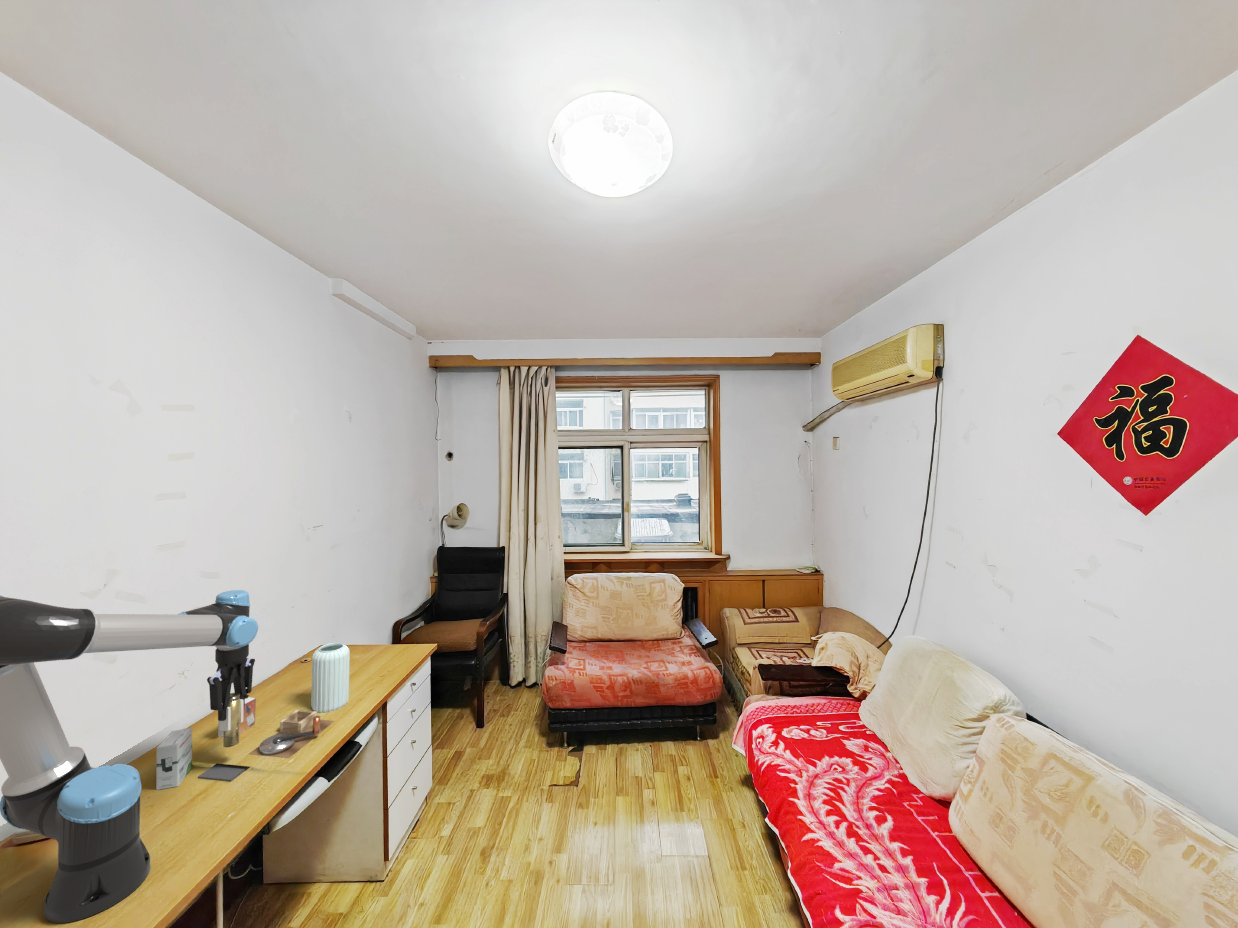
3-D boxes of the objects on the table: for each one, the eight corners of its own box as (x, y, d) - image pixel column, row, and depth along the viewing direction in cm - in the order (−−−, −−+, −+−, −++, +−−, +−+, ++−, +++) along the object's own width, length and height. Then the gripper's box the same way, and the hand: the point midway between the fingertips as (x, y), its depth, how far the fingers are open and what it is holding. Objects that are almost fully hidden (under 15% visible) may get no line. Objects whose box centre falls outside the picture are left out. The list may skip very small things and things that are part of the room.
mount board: (289, 762, 143) (289, 757, 143) (248, 758, 144) (248, 753, 144) (334, 725, 163) (334, 720, 163) (298, 721, 164) (298, 717, 164)
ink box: (171, 770, 138) (172, 729, 138) (192, 767, 140) (193, 726, 139) (154, 790, 130) (155, 747, 130) (177, 787, 132) (178, 743, 131)
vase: (347, 697, 181) (348, 638, 181) (349, 711, 171) (351, 649, 171) (311, 705, 175) (312, 644, 174) (311, 720, 165) (312, 656, 165)
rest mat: (230, 781, 134) (230, 779, 134) (197, 778, 135) (197, 776, 135) (260, 758, 144) (260, 757, 144) (229, 755, 145) (229, 754, 145)
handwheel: (319, 743, 150) (319, 723, 150) (257, 757, 142) (257, 736, 142) (320, 728, 157) (320, 709, 157) (261, 741, 150) (261, 721, 150)
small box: (231, 743, 151) (232, 710, 151) (217, 740, 152) (217, 707, 152) (255, 729, 159) (256, 697, 159) (241, 726, 160) (242, 695, 160)
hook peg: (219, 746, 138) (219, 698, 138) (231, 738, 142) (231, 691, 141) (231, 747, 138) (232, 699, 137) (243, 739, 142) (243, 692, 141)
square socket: (300, 734, 155) (300, 723, 155) (279, 732, 155) (279, 721, 155) (316, 721, 162) (316, 711, 162) (296, 719, 163) (296, 709, 162)
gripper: (218, 658, 130) (217, 744, 131) (268, 635, 147) (267, 711, 148) (192, 656, 131) (191, 741, 132) (245, 633, 148) (244, 709, 148)
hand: (231, 725), depth 140 cm, fingers closed on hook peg, 3 cm apart
